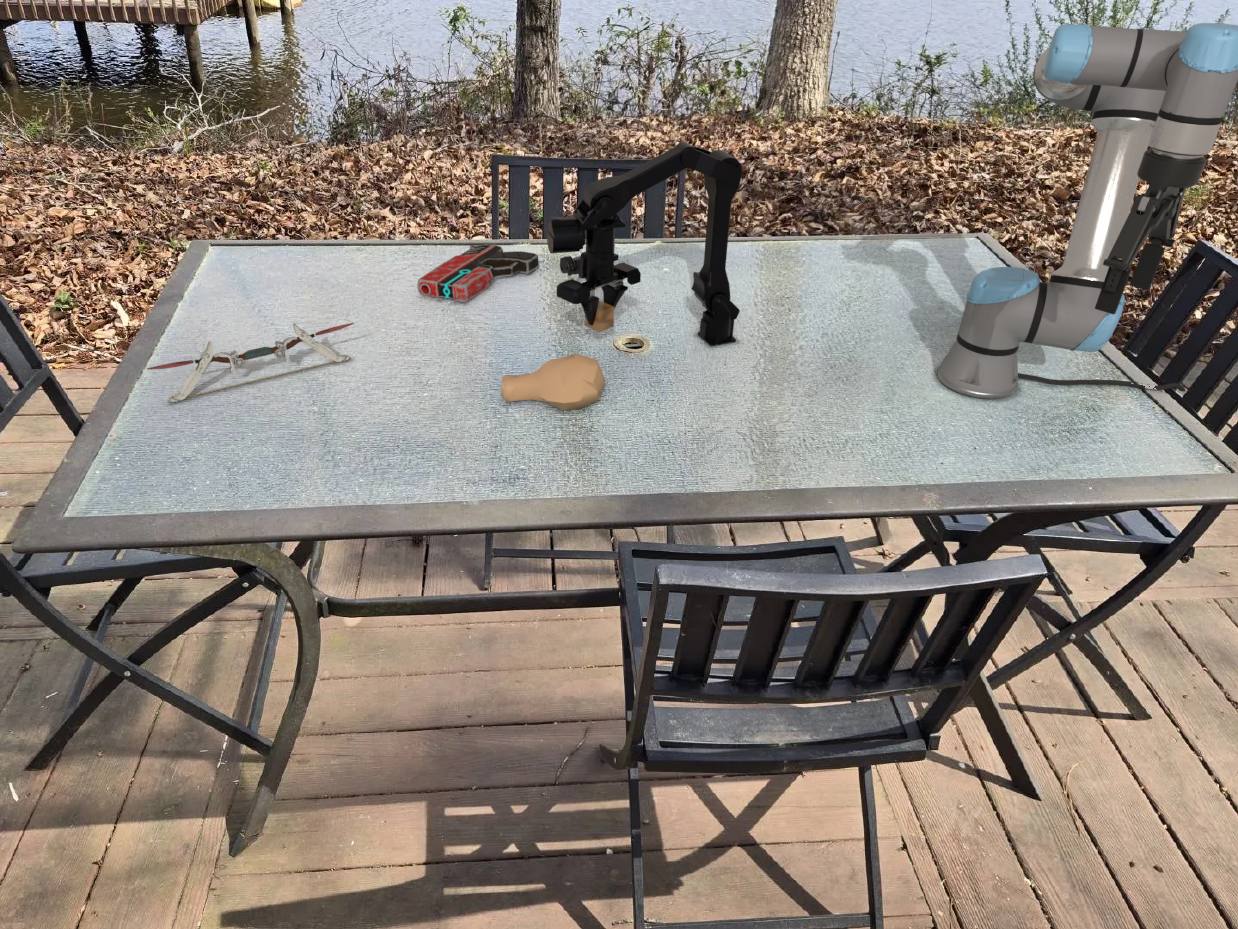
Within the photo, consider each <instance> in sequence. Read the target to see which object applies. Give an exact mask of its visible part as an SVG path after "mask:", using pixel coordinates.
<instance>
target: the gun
mask: <svg viewBox="0 0 1238 929" xmlns="http://www.w3.org/2000/svg"><path fill="white" fill-rule="evenodd" d="M539 266H540V265H539V254H537V253H534V252H529V251H521V250H519V251H518V250H517V251H504V249H503V247H502V246H501V245H498V244H496V243H492V244H487V243H484V244H480V245H474V244H470V245H469V249H467V250H466V251H464V252H462V253H461V254H459V255H454V256H452V257H451V258H449V259H448V260H446V261H444V262H442V263H441V264H440V265H438V266H437V267H435V268H433V269H431V270H430V271H428V272H427V273H426V274H424V275H422V276H421V277H420V278H418V279H417V285H416V286H417V287H416V288H417V291H418V294H419V295H421V296H426V297H430V298H445V299H452V300H453V301H454V302H457V303H458V302H459V303H466V302H469V301H470V300H472V299H473V298H474V297H476V296H477V295H479V294H480V293H482V292H483V291H485V290H486V289H488V288H489V287H491V286H492V283H493V280H494V278H501V277H502V278H503V277H509V276H514V275H515V274H516V273H522V274H527V275H529V274H530V273H532V272H533V271H535V270H537V269H539Z"/></svg>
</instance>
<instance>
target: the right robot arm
mask: <svg viewBox="0 0 1238 929" xmlns="http://www.w3.org/2000/svg"><path fill="white" fill-rule="evenodd" d="M1032 73H1033V74H1032V80H1033V85H1034V87H1035V89H1036V91H1037V92H1038V93H1039V94H1040V95H1041V96H1042V97H1043V98H1044V99H1046V100H1047V101H1049V102H1051V103H1053V104H1055V105H1057V106H1060V107H1063V108H1067V109H1070V110H1076V111H1085V112H1092V116H1091V117H1092V118H1091V122H1090V124H1091V125H1092V127H1093V128H1094V130H1095V131H1096V137H1095V141H1094V146H1093V149H1092V154H1091V158H1090V161H1089V165H1088V168H1087V172H1086V176H1085V180H1084V182H1083V183H1084V184H1083V188H1082V192H1081V194H1080V199H1079V202H1078V205H1077V210H1076V213H1075V218H1074V220H1073V225H1072V229H1071V232H1070V236H1069V240H1068V244H1067V248H1066V252H1065V255H1064V259H1063V262H1062V265H1061V266H1060V267H1059V268H1057V269H1056V270H1055V271H1053V272H1052V273H1051V274H1050V278H1049V282H1042V281H1041V279H1040V276H1039V274H1038V273H1036V271H1033V270H1031V269H1026V268H1023V267H1016V266H999V267H992V268H988V269H985V270H982V271H980V272H979V273H977V274H976V275H975V276H974V277H973V279H972V281H971V284H970V287H969V290H968V293H967V294H966V303H965V305H964V310H963V313H962V316H961V320H960V324H959V328H958V331H957V334H956V335H957V336H956V339H955V342H954V343H953V344H952V346H951V348H950V349H949V351H948V353H946V355H945V356H944V358H943V359H942V361H941V362H940V365H939V368H938V371H937V378H938V380H939V381H940V382H941V384H942V385H944V386H945V387H946V388H948V389H950V391H953V392H956V393H957V394H960V395H964V396H968V397H971V398H977V399H983V400H997V399H998V400H999V399H1004V398H1007V397H1010V396H1012V395H1014V394H1015V392H1016V390H1017V387H1018V382H1019V379H1022V380H1023V379H1024V380H1029V381H1035V382H1040V383H1043V384H1048V385H1049V384H1050V385H1059V386H1069V385H1070V386H1075V385H1079V386H1080V385H1095V386H1096V385H1097V386H1098V385H1101V386H1102V385H1104V386H1105V385H1106V386H1107V385H1108V386H1123V387H1130V388H1135V389H1141V390H1146V389H1145V386H1143V385H1137V384H1131V383H1133V382H1134V381H1127V380H1120V379H1119V380H1118V379H1117V380H1116V379H1052V378H1046V377H1042V376H1038V375H1032V374H1027V373H1020V372H1019V366H1018V350H1019V348H1020V344H1021V343H1027V344H1033V345H1039V346H1044V347H1045V346H1046V347H1051V348H1057V349H1063V350H1069V351H1071V352H1076V351H1078V352H1085V353H1096V352H1098V351H1100V350H1101V349H1103V347H1105V345H1106V344H1108V342H1109V340H1110V339H1111V337H1112V335H1113V334H1114V332H1115V330H1116V328H1117V326H1118V323H1119V322H1120V320H1121V316H1122V313H1123V310H1124V305H1125V301H1126V297H1125V294H1124V291H1125V289H1126V286H1127V283H1128V281H1129V279H1130V275H1131V272H1132V269H1131V266H1132V265H1133V263H1134V261H1135V259H1136V257H1138V254H1139V252H1140V251H1141V253H1140V256H1139V258H1138V261H1137V264H1136V266H1135V269H1134V272H1133V273H1132V277H1131V280H1130V283H1129V286H1131V287H1135V288H1138V289H1142V290H1146V291H1149V290H1150V289H1151V287H1152V284H1153V282H1154V280H1155V276H1156V274H1157V271H1158V269H1159V267H1160V264H1161V262H1162V258H1163V255H1164V253H1165V250H1166V248H1172V247H1173V246H1174V244H1175V242H1176V241H1175V239H1173V238H1175V236H1176V230H1177V226H1178V222H1179V218H1180V217H1179V216H1180V213H1181V209H1182V205H1183V202H1184V197H1185V193H1186V191H1187V188H1193V187H1195V186H1196V185H1197V184H1198V183H1199V181H1200V179H1201V176H1202V174H1203V171H1204V169H1205V166H1206V163H1207V158H1206V155H1208V154H1211V151H1212V149H1213V147H1214V143H1215V141H1216V138H1217V136H1218V133H1219V130H1220V128H1221V126H1222V121H1223V118H1224V116H1225V114H1226V111H1227V109H1228V107H1229V104H1230V101H1231V99H1232V96H1233V94H1234V91H1235V88H1236V86H1237V83H1238V25H1237V24H1229V23H1219V22H1200V23H1195V24H1193V25H1191V26H1190V27H1189V28H1188V29H1184V30H1181V31H1180V30H1167V29H1164V30H1163V29H1149V28H1129V27H1115V26H1103V25H1092V24H1091V25H1089V24H1088V23H1077V24H1068V23H1067V24H1064V23H1063V24H1061V25H1059V26H1058V27H1057V28H1056V29H1055V31H1054V33H1053V35H1052V37H1051V40H1050V43H1049V47H1048V48H1047V49H1045V50H1044V51H1043V52H1042V53H1041V55H1040V56H1039V58H1038V59H1037V60H1036V63H1035V65H1034V67H1033V72H1032ZM1148 147H1150V148H1148ZM1139 179H1140V180H1141V181H1143V182H1146V183H1147V184H1148V187H1147V188H1146V190H1145V193H1142V194H1139V193H1138V194H1137V195H1136V196H1135V194H1136V190H1137V186H1138V184H1139ZM1147 239H1148V241H1147V242H1146V240H1147ZM1145 242H1146V243H1145ZM1142 247H1143V248H1142ZM1141 249H1142V250H1141ZM1154 385H1155V384H1154ZM1149 387H1150V386H1149ZM1154 388H1156V389H1157V390H1156V391H1165V390H1169V389H1178V391H1180V392H1183V393H1184V392H1186V388H1185V387H1184V385H1182V384H1181V383H1178V382H1171V383H1166V384H1161V385H1155V387H1154ZM1154 388H1153V389H1154Z"/></svg>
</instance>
